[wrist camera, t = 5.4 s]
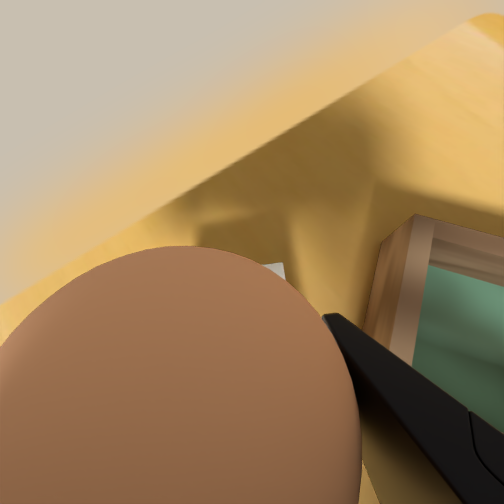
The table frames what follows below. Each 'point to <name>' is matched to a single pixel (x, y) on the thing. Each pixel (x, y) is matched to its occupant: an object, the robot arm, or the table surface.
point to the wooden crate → (444, 309)
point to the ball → (177, 390)
